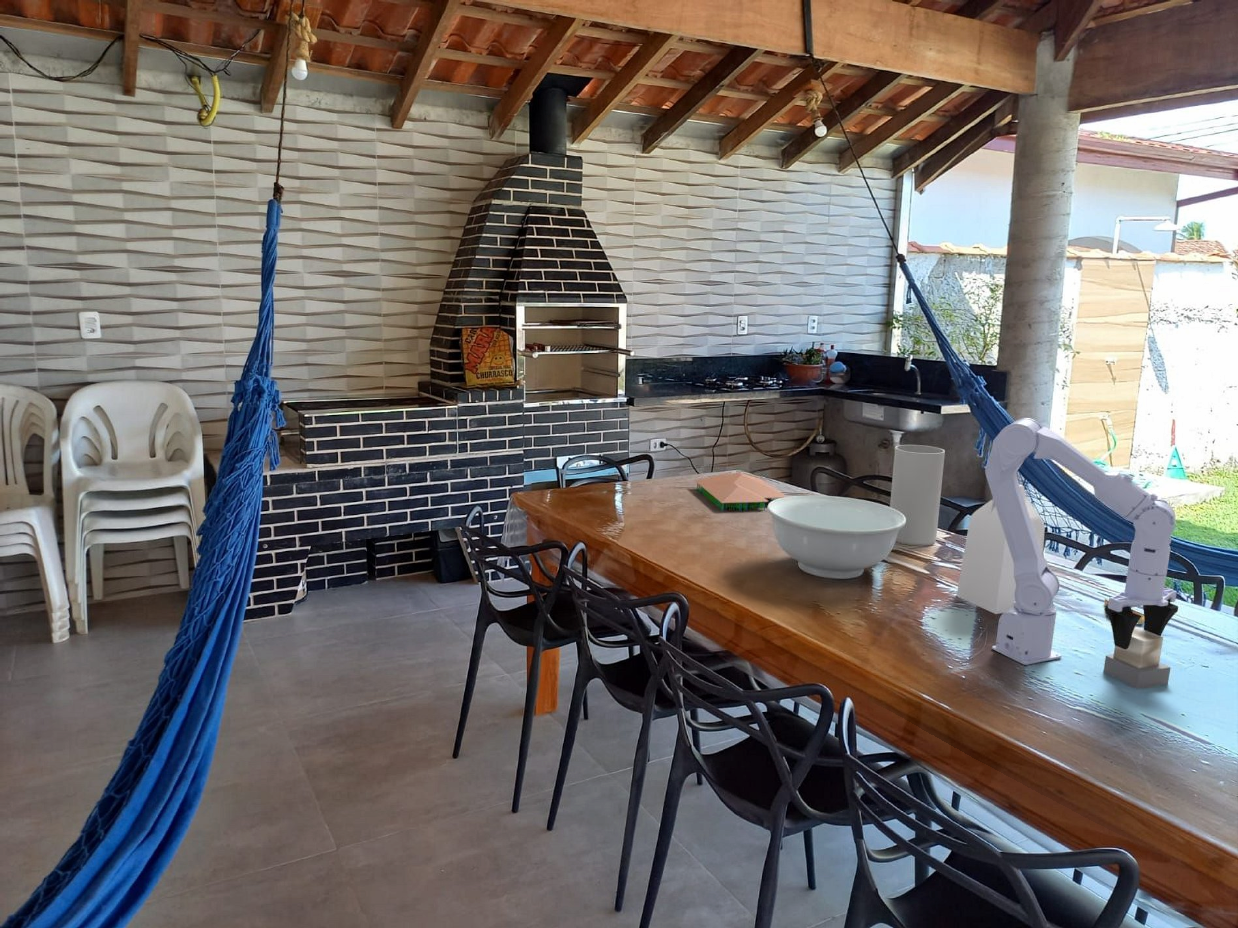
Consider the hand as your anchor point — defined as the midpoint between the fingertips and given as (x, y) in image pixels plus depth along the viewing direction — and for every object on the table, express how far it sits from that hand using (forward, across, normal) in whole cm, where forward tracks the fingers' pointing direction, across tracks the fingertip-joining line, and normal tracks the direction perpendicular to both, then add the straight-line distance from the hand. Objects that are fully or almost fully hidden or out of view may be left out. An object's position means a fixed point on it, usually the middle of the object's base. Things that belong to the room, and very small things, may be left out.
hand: (1135, 643), depth 153 cm
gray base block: (+7, 0, 0) cm, 7 cm away
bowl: (+6, -14, +68) cm, 70 cm away
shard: (+7, +25, +22) cm, 34 cm away
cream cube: (+3, 0, 0) cm, 3 cm away
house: (+7, +2, +137) cm, 137 cm away
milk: (+6, +7, +37) cm, 38 cm away
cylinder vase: (+6, +22, +81) cm, 84 cm away
